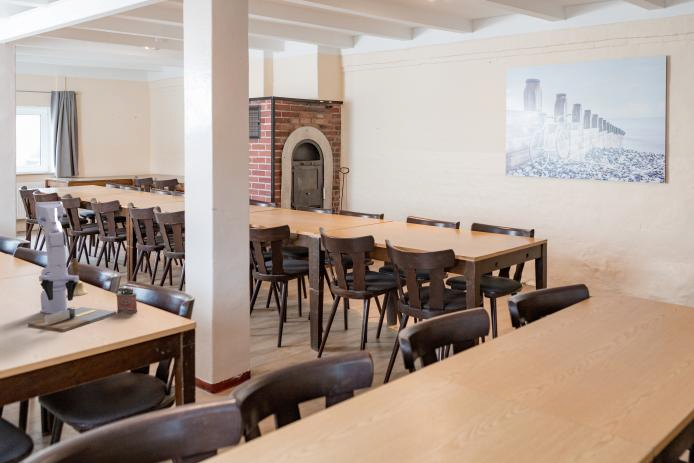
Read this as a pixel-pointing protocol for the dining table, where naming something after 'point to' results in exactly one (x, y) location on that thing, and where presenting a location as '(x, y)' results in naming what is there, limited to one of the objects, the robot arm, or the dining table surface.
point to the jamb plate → (60, 324)
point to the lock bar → (60, 316)
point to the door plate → (92, 314)
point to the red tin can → (126, 301)
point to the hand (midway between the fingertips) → (60, 300)
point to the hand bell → (79, 287)
